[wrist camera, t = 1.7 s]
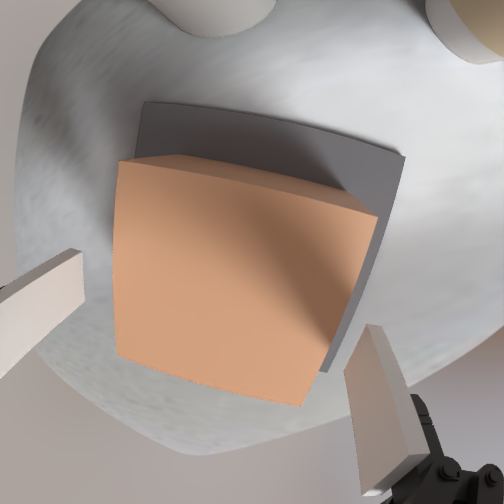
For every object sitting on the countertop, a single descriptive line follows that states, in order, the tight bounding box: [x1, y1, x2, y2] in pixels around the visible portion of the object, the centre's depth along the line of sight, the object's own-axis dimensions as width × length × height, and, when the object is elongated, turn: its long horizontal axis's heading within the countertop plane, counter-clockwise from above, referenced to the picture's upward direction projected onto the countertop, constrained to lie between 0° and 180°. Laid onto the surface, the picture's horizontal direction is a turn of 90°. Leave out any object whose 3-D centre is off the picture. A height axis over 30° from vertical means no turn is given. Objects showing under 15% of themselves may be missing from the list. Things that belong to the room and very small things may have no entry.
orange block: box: [113, 154, 378, 407], centre depth 16 cm, size 11×11×7 cm
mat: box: [135, 102, 406, 373], centre depth 19 cm, size 17×17×1 cm
